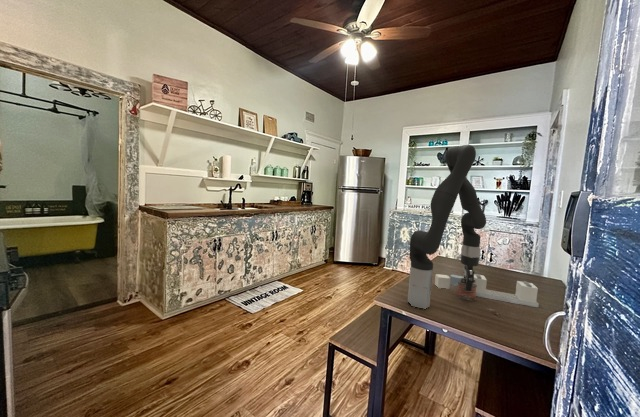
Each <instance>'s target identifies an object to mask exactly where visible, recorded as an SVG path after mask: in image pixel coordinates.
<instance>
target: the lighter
mask: <svg viewBox="0 0 640 417" xmlns="http://www.w3.org/2000/svg"><path fill="white" fill-rule="evenodd" d="M469 280H471V279H470V278H469ZM475 282H476V280H474V283H475ZM476 287H477V285H476V284H473V283H472V288H471V291H468V290H466V278H461V281H458V287H457V290H456V296H457V297H456V298H458V297H459V298H458V299H461V300H467V301H472V302H473V301H475V302H476V296H475V294H476Z"/></svg>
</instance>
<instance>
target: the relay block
mask: <svg viewBox="0 0 640 417" xmlns="http://www.w3.org/2000/svg"><path fill="white" fill-rule="evenodd" d="M434 277H435V278H434V285H436V286H437V287H438V288H437V287H436V286H435V287H436V288H437V289H441V288H446V289H445V290H450V289H451V287H450V286H451V285H450V279H451V276H449V275H448V274H439V273H436V274H435V276H434Z"/></svg>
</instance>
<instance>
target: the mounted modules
mask: <svg viewBox="0 0 640 417" xmlns="http://www.w3.org/2000/svg"><path fill="white" fill-rule="evenodd" d="M474 280H476V282H475V283H473V284H476V285H477V287H476V292H478V293H484V294H485V292H486V289H487V283H488V282H487V281H488V279H487V278H486V277H485V275H482V274H480V273H474ZM515 287H516V288H515V293H514V294H515V295H516V296H517V297H518V298H519V299H520V300H522V301H528V302H533V303H536V301H537V298H538V291H539V288H538V287H537V286H536V285H535V284H534V283H532V282H528V281H526V280H523V281H521V280H520V281H519V280H517V281H516V286H515Z"/></svg>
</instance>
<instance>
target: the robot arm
mask: <svg viewBox="0 0 640 417" xmlns="http://www.w3.org/2000/svg"><path fill="white" fill-rule="evenodd" d="M476 155H477V151H476V148H475V146H474V145H471V144H463V145H458V146H454V147H449V148H448V149H447V150H446V152H445V158H444V159H445V163H446V165H447V167H448V170H449V175H447V177H445V179H443V181H441V182H440V183H439V185H438V186H437V188H436V189H435V190H434V193H433V195H432V197H431V200H430V212H431V224H430V226H429V229H428V231H424V230H415V231H414V232H413V233H412V234H411V236H410V240H409V261H410V268H409V270H410V271H409V281H408V290H407V291H408V293H407V303H408V302H409V303H410V304H411V306H415V307H420V308H424V309H426V308H427V307H429V308H430V305H431V293H432V284H433V283H432V282H433V272H434V263H433V261H432V260H431V259H430V258H429V256H428V255H430V256H431V255H434V254H436V253H437V252H438V250H439V247H440V245H441V242H442V240H443V236H444V232H445V229H446V225H447V223H448V220H449V218H450V215H451V213H452V210H453V208H454V206H455V204H456V200H457V199H458V198H459V201H460V205H461V208H462V210H464V211H466V213H464V214H463V215H462V216H461V219H460V225H461V232H462V236H463V237H462V246H461V252H460V253H461V254H460V263H461V264H462V265H463V269H462V270H463V271H462V273H463V277H464V278H466V290H468V291H471V288H472V283H474V274H475V269H474V267H478V266H479V263H480V252H481V251H480V250H481V249H480V248H481V246H480V245H481V235H480V234H479V233H477V232H476V231H475V230H482V229H483V228H485V226H486V224H487V217H486V214H485V212H484V211H483V209H482V207H481V206H480V204H479V199H478V195H477V192H476V189H475V187H474V185H473V184H472V183H471V182H470V181H469V179H468V177H467V175H468V174H469V172H470V169H471V168H472V166H473V165H474V163H475V160H476ZM469 279H471V280H469ZM411 306H410V307H411ZM415 307H414V308H415ZM424 309H423V310H424ZM427 309H428V308H427ZM427 309H426V310H427Z"/></svg>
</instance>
